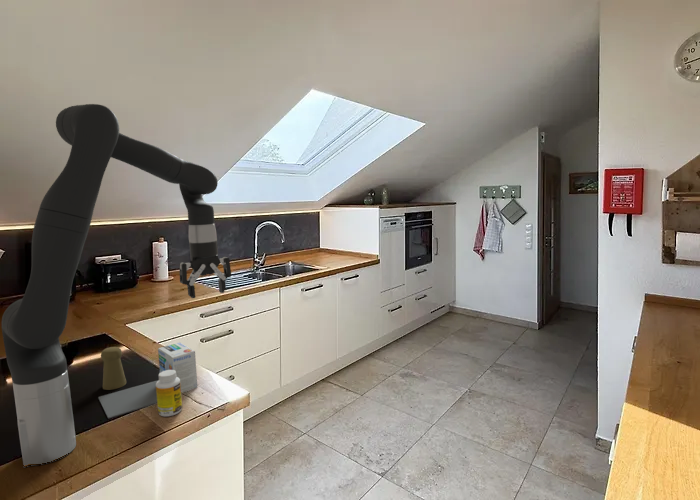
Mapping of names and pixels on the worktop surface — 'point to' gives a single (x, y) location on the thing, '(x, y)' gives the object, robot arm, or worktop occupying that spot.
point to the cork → (112, 368)
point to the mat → (129, 399)
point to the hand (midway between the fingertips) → (207, 295)
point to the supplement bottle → (168, 393)
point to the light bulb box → (179, 364)
